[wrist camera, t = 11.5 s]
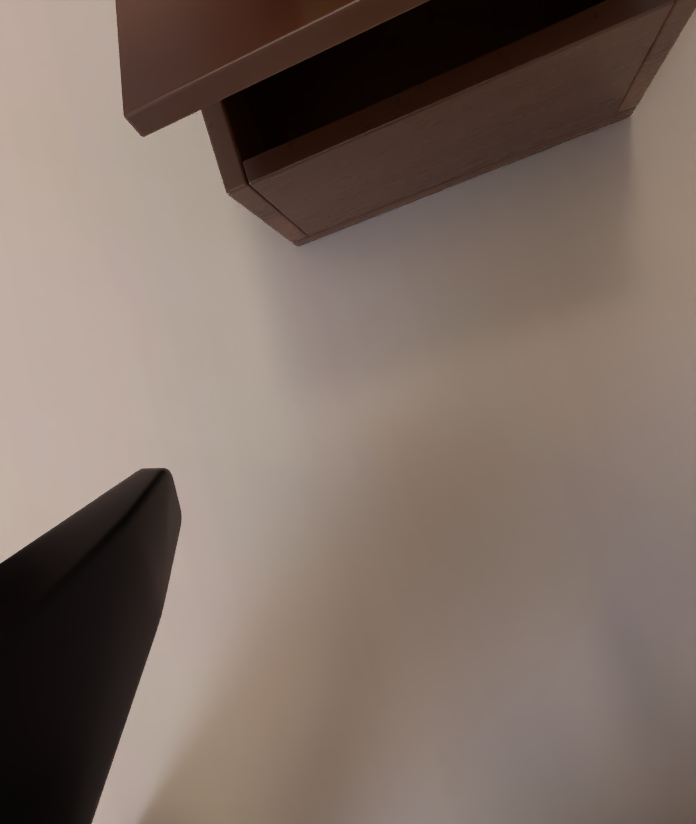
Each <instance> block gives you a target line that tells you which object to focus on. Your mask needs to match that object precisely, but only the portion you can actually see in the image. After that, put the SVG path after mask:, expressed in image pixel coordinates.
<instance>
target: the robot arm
mask: <svg viewBox="0 0 696 824" xmlns="http://www.w3.org/2000/svg"><path fill="white" fill-rule="evenodd" d="M180 527H181V509H180V505H179V501H178V497H177V493H176V489H175V485H174V481H173V477H172V474H171V473H170V471H169V470H168V469H166V468H147V469H140V470H139V471H137V472H135V473H134V474H133V475H131V476H130V477H128V478H127V479H125V480H124V481H122V482H121V483H119V484H118V485H116V486H115V487H113V488H112V489H110V490H109V491H107V492H106V493H104V494H103V495H101V496H100V497H98V498H97V499H95V500H94V501H93V502H91V503H90V504H88V505H87V506H85V507H84V508H82V509H81V510H79V511H78V512H76V513H75V514H73V515H72V516H70V517H69V518H67V519H66V520H64V521H63V522H61V523H60V524H58V525H57V526H55V527H54V528H53V529H51V530H50V531H48V532H47V533H45V534H44V535H42V536H41V537H39V538H38V539H36V540H35V541H33V542H32V543H30V544H29V545H27V546H26V547H24V548H23V549H21V550H20V551H18V552H17V553H15V554H14V555H12V556H11V557H10V558H8V559H7V560H5V561H4V562H2V563H1V564H0V824H92V821H93V818H94V815H95V812H96V809H97V806H98V803H99V800H100V797H101V794H102V791H103V788H104V785H105V782H106V779H107V776H108V773H109V770H110V767H111V764H112V761H113V758H114V755H115V752H116V749H117V746H118V744H119V741H120V738H121V735H122V732H123V729H124V726H125V723H126V720H127V717H128V714H129V711H130V708H131V705H132V702H133V699H134V696H135V693H136V690H137V687H138V684H139V681H140V678H141V675H142V672H143V669H144V666H145V664H146V661H147V658H148V655H149V652H150V649H151V646H152V643H153V640H154V637H155V634H156V631H157V628H158V624H159V621H160V618H161V615H162V610H163V606H164V602H165V598H166V593H167V588H168V583H169V579H170V574H171V569H172V565H173V560H174V555H175V550H176V546H177V541H178V536H179V532H180Z"/></svg>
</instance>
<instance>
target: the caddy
mask: <svg viewBox="0 0 696 824" xmlns="http://www.w3.org/2000/svg"><path fill="white" fill-rule="evenodd" d="M695 8H696V0H430V1H427V2H425V3H423V4H421V5H419V6H417V7H415V8H413V9H411V10H409V11H407V12H404V13H402V14H400V15H398V16H396V17H394V18H392V19H390V20H388V21H386V22H383V23H381V24H379V25H377V26H375V27H373V28H371V29H369V30H367V31H365V32H363V33H360V34H358V35H356V36H354V37H352V38H350V39H348V40H346V41H344V42H342V43H339V44H337V45H335V46H333V47H331V48H329V49H327V50H325V51H323V52H321V53H318V54H316V55H314V56H312V57H310V58H308V59H306V60H304V61H302V62H300V63H298V64H295V65H293V66H291V67H289V68H287V69H285V70H283V71H281V72H279V73H277V74H274V75H272V76H270V77H268V78H266V79H264V80H262V81H260V82H258V83H256V84H254V85H251V86H249V87H247V88H245V89H243V90H241V91H239V92H237V93H235V94H233V95H230V96H228V97H226V98H224V99H222V100H220V101H218V102H216V103H214V104H212V105H210V106H207V107H205V108H203V109H201V111H202V114H203V118H204V121H205V124H206V128H207V131H208V134H209V137H210V141H211V144H212V147H213V150H214V154H215V157H216V160H217V163H218V167H219V170H220V173H221V176H222V180H223V183H224V186H225V189H226V193H227V194H228V195H229V196H230V197H232V198H233V199H234V200H236V201H237V202H238V203H240V204H241V205H242V206H244V207H245V208H246V209H248V210H249V211H251V212H252V213H253V214H255V215H256V216H257V217H259V218H260V219H261V220H263V221H264V222H265V223H267V224H268V225H269V226H271V227H272V228H273V229H275V230H276V231H277V232H279V233H280V234H281V235H283V236H284V237H285V238H287V239H288V240H289V241H291V242H292V243H293V244H295V245H296V246H300V245H303V244H305V243H308V242H310V241H313V240H316V239H318V238H321V237H323V236H326V235H328V234H331V233H333V232H336V231H338V230H341V229H344V228H346V227H349V226H351V225H354V224H356V223H359V222H361V221H364V220H366V219H369V218H372V217H374V216H377V215H379V214H382V213H384V212H387V211H389V210H392V209H394V208H397V207H399V206H402V205H405V204H407V203H410V202H412V201H415V200H417V199H420V198H422V197H425V196H427V195H430V194H433V193H435V192H438V191H440V190H443V189H445V188H448V187H450V186H453V185H455V184H458V183H461V182H463V181H466V180H468V179H471V178H473V177H476V176H478V175H481V174H483V173H486V172H489V171H491V170H494V169H496V168H499V167H501V166H504V165H506V164H509V163H511V162H514V161H517V160H519V159H522V158H524V157H527V156H529V155H532V154H534V153H537V152H539V151H542V150H545V149H547V148H550V147H552V146H555V145H557V144H560V143H562V142H565V141H567V140H570V139H573V138H575V137H578V136H580V135H583V134H585V133H588V132H590V131H593V130H595V129H598V128H601V127H603V126H606V125H608V124H611V123H613V122H616V121H618V120H621V119H623V118H626V117H629V116H630V115H632V113H633V111H634V110H635V108H636V106H637V105H638V103H639V101H640V100H641V98H642V96H643V95H644V93H645V91H646V90H647V88H648V86H649V85H650V83H651V81H652V80H653V78H654V76H655V75H656V73H657V71H658V70H659V68H660V66H661V65H662V63H663V61H664V60H665V58H666V56H667V55H668V53H669V51H670V50H671V48H672V46H673V45H674V43H675V41H676V40H677V38H678V36H679V35H680V33H681V31H682V30H683V28H684V26H685V25H686V23H687V21H688V20H689V18H690V16H691V15H692V13H693V11H694V10H695Z"/></svg>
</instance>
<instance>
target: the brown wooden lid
mask: <svg viewBox="0 0 696 824" xmlns="http://www.w3.org/2000/svg"><path fill="white" fill-rule="evenodd" d="M427 1H430V0H116V13H117V27H118V41H119V55H120V69H121V83H122V97H123V111H124V117H125V118H126V119H127V120H128V122H129V123H130V124H131V125H132V126H133V127H134V128H135V129H136V131H137V132H138V133H139V134H140V135H141V136H142V137H145V136H147V135H149V134H151V133H153V132H155V131H157V130H159V129H161V128H163V127H165V126H168V125H170V124H172V123H174V122H176V121H178V120H180V119H182V118H184V117H186V116H189V115H191V114H193V113H195V112H197V111H199V110H201V109H203V108H205V107H207V106H210V105H212V104H214V103H216V102H218V101H220V100H222V99H224V98H226V97H228V96H230V95H233V94H235V93H237V92H239V91H241V90H243V89H245V88H247V87H249V86H251V85H254V84H256V83H258V82H260V81H262V80H264V79H266V78H268V77H270V76H272V75H274V74H277V73H279V72H281V71H283V70H285V69H287V68H289V67H291V66H293V65H295V64H298V63H300V62H302V61H304V60H306V59H308V58H310V57H312V56H314V55H316V54H318V53H321V52H323V51H325V50H327V49H329V48H331V47H333V46H335V45H337V44H339V43H342V42H344V41H346V40H348V39H350V38H352V37H354V36H356V35H358V34H360V33H363V32H365V31H367V30H369V29H371V28H373V27H375V26H377V25H379V24H381V23H383V22H386V21H388V20H390V19H392V18H394V17H396V16H398V15H400V14H402V13H404V12H407V11H409V10H411V9H413V8H415V7H417V6H419V5H421V4H423V3H425V2H427Z"/></svg>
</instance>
